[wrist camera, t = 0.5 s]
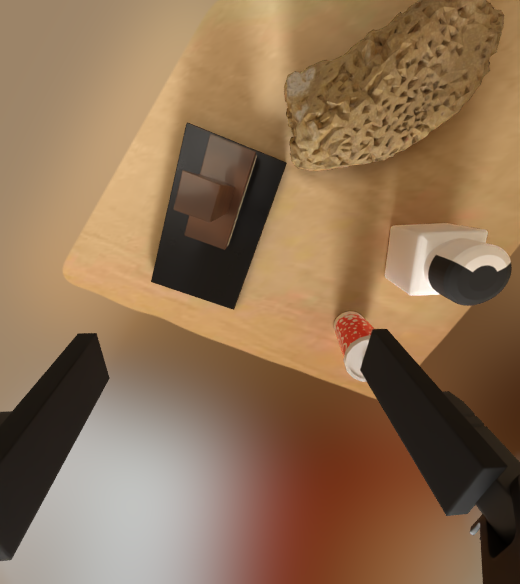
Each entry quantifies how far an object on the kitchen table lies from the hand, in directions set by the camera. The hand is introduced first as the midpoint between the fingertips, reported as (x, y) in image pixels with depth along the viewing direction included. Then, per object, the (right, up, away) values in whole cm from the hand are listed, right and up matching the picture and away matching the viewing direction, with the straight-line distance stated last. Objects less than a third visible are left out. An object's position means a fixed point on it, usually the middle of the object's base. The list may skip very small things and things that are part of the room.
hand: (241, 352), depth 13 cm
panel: (-5, +12, +22) cm, 25 cm away
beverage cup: (+14, -2, +26) cm, 30 cm away
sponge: (+13, +24, +16) cm, 32 cm away
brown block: (-4, +15, +19) cm, 24 cm away
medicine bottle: (+22, +9, +22) cm, 32 cm away
